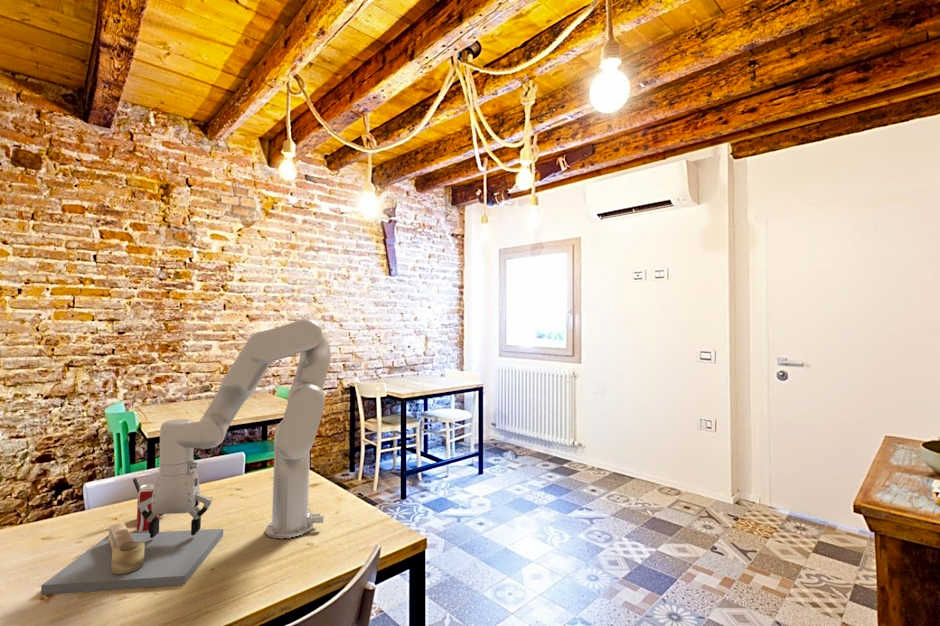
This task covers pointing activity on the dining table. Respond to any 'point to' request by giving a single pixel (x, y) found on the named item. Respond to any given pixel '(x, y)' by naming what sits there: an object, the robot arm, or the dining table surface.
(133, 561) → the beige elongated piece
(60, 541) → the dining table surface
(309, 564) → the dining table surface
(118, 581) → the dial board
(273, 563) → the dining table surface
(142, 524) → the soda can
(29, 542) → the dining table surface
